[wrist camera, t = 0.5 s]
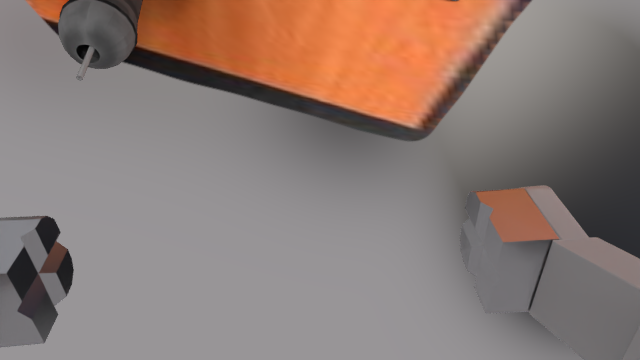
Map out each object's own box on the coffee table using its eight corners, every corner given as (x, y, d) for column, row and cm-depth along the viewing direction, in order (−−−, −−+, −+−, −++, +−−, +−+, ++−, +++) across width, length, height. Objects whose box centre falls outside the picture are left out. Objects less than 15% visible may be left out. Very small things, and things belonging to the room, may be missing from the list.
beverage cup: (80, -30, 56) (14, 86, 44) (112, -77, 52) (49, 35, 40) (138, 11, 60) (93, 127, 48) (171, -30, 56) (132, 85, 44)
